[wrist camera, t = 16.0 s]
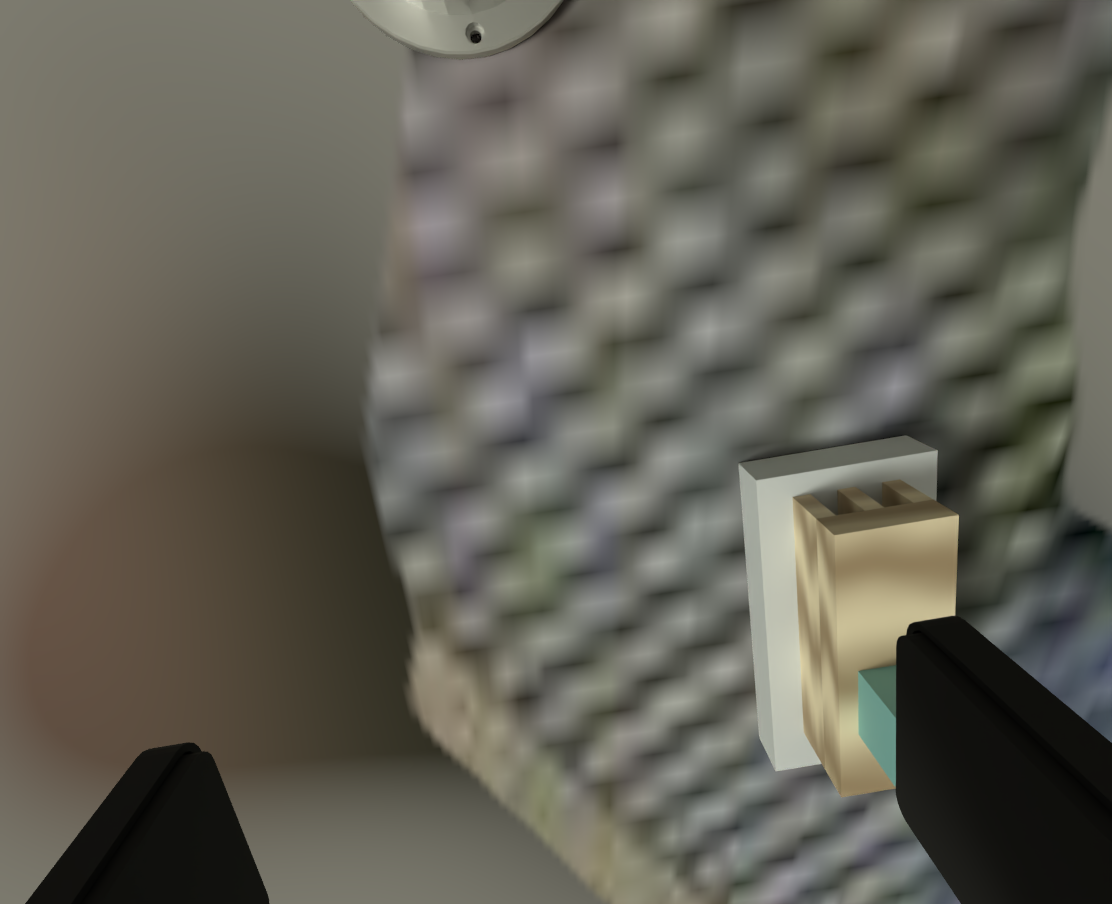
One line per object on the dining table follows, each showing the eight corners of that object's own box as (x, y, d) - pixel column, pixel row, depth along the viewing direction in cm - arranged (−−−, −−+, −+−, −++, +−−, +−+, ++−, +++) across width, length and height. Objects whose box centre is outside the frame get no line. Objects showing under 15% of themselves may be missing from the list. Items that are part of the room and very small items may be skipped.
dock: (738, 463, 38) (756, 480, 35) (906, 435, 38) (937, 450, 35) (759, 737, 44) (775, 771, 41) (904, 713, 44) (930, 745, 41)
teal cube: (858, 670, 33) (895, 718, 30) (935, 659, 33) (981, 705, 30) (858, 734, 34) (894, 786, 31) (932, 722, 34) (976, 773, 31)
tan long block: (792, 497, 35) (834, 535, 31) (900, 479, 35) (958, 514, 31) (803, 732, 40) (841, 797, 35) (898, 716, 40) (949, 779, 35)
